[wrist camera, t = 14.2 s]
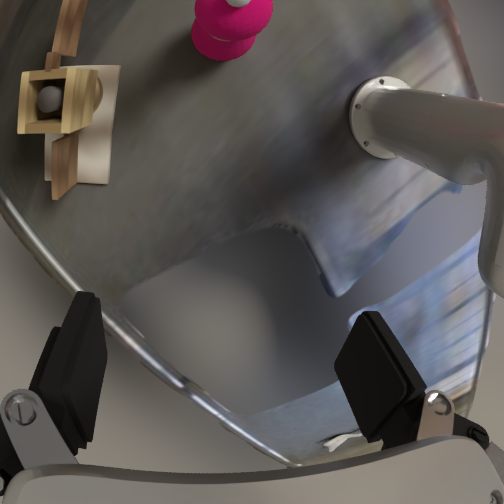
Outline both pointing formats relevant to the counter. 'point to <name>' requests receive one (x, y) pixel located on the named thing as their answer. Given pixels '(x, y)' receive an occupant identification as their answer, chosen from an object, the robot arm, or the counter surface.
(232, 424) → the counter surface
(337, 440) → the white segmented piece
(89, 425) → the robot arm
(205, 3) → the pepper mill
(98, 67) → the hinge base
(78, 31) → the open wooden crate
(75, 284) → the counter surface
